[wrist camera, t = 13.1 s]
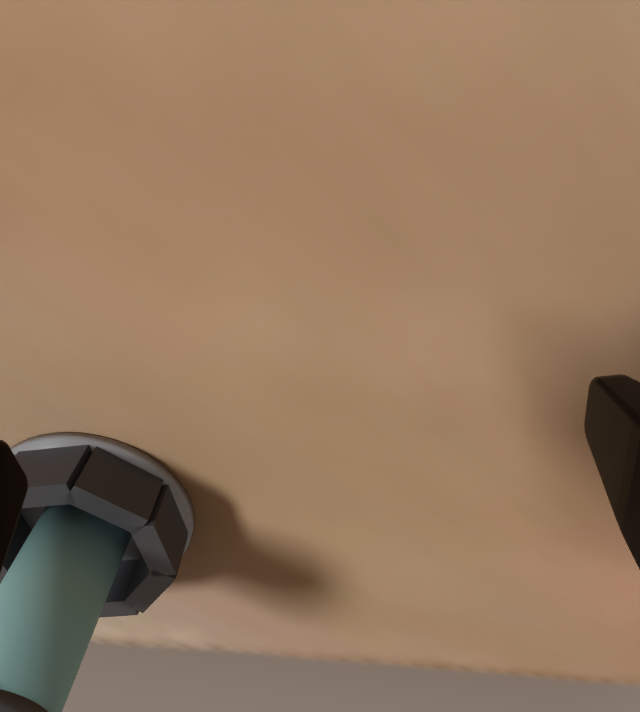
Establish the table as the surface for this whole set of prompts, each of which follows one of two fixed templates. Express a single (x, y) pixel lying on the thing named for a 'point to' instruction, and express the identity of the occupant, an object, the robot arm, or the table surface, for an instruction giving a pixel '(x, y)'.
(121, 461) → the collar
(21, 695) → the plug
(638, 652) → the table surface
